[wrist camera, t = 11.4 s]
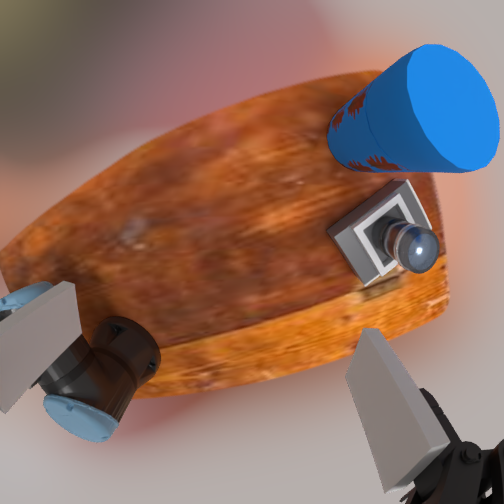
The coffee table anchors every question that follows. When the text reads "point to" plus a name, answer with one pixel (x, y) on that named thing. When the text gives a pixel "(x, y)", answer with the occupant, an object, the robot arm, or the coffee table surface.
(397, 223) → the lens
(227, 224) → the coffee table surface
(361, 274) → the grey square frame
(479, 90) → the thermos
